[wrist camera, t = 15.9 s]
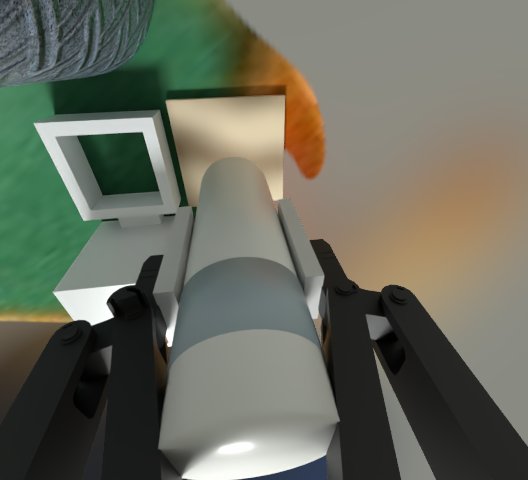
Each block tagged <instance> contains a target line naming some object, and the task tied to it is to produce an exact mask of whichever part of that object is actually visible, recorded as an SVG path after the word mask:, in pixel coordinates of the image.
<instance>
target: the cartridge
mask: <svg viewBox="0 0 528 480" xmlns="http://www.w3.org/2000/svg"><path fill="white" fill-rule="evenodd" d="M166 379H167V385H166V391H165V396H164V402H163V408H162V414H161V422H160V436H159V445H158V449H160V450H161V452H162V453H163V454H164V455H165V456H166V458H167V459H168V460H169V461H170V463H171V464H172V465H173V466H174V468H175V469H176V470H177V471H178V473H179V474H180V475H181V476H182V478H186V479H194V480H232V479H243V478H251V477H257V476H263V475H268V474H273V473H277V472H281V471H285V470H288V469H292V468H295V467H298V466H301V465H304V464H307V463H309V462H312V461H314V460H316V459H318V458H320V457H322V456H324V455H326V452H327V450H328V447H329V445H330V442H331V439H332V437H333V434H334V432H335V429H336V426H337V424H338V422H339V421H340V419H339V416H338V412H337V407H336V401H335V396H334V391H333V387H332V383H331V380H330V377H329V374H328V371H327V368H326V364H325V357H324V353H323V350H322V347H321V344H320V341H319V338H318V335H317V332H316V328H315V325H314V322H313V319H312V316H311V313H310V310H309V307H308V304H307V301H306V298H305V295H304V292H303V288H302V286H301V283H300V281H299V279H298V277H297V274H296V271H295V267H294V264H293V261H292V258H291V255H290V252H289V249H288V246H287V242H286V239H285V236H284V233H283V230H282V227H281V224H280V221H279V217H278V214H277V211H276V208H275V205H274V202H273V199H272V196H271V192H270V189H269V186H268V183H267V180H266V177H265V175H264V173H263V171H262V170H261V169H260V168H259V167H258V166H257V165H256V164H255V163H253V162H252V161H250V160H248V159H245V158H241V157H227V158H223V159H220V160H218V161H216V162H215V163H213V164H212V165H211V166H210V167H209V168H208V169H207V170H206V172H205V173H204V175H203V178H202V182H201V187H200V193H199V199H198V205H197V211H196V216H195V222H194V228H193V234H192V240H191V245H190V251H189V257H188V263H187V269H186V275H185V280H184V286H183V290H182V292H181V296H180V302H179V307H178V313H177V318H176V324H175V330H174V335H173V341H172V347H171V352H170V358H169V364H168V369H167V375H166Z"/></svg>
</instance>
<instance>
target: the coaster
mask: <svg viewBox="0 0 528 480" xmlns="http://www.w3.org/2000/svg"><path fill="white" fill-rule="evenodd" d="M166 106H167V110H168V115H169V119H170V124H171V128H172V133H173V137H174V142H175V146H176V151H177V155H178V160H179V164H180V169H181V173H182V178H183V182H184V187H185V191H186V196H187V200H188V205H189V206H191V207H197V205H198V199H199V193H200V187H201V182H202V178H203V175H204V173H205V172H206V170H207V169H208V168H209V167H210V166H211V165H212V164H213V163H215V162H216V161H218V160H220V159H223V158H227V157H241V158H245V159H248V160H250V161H252V162H253V163H255V164H256V165H257V166H258V167H259V168H260V169H261V170H262V171H263V173H264V175H265V177H266V180H267V183H268V186H269V189H270V192H271V196H272V199H273V200H278V199H283V162H284V161H283V160H284V121H285V95H284V94H282V95H259V96H236V97H213V98H190V99H168V100H166Z"/></svg>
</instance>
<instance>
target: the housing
mask: <svg viewBox="0 0 528 480" xmlns="http://www.w3.org/2000/svg"><path fill="white" fill-rule="evenodd" d="M34 125H35V127H36V129H37V131H38V133H39V135H40V137H41V139H42V141H43V143H44V145H45V146H46V148H47V150H48V152H49V154H50V156H51V158H52V160H53V162H54V164H55V166H56V168H57V170H58V172H59V173H60V175H61V177H62V179H63V181H64V183H65V185H66V187H67V189H68V191H69V193H70V195H71V197H72V199H73V200H74V202H75V204H76V206H77V208H78V210H79V212H80V214H81V216H82V218H83V220H84V221H86V220H99V219H111V218H118V220H116V221H104V222H101V223H100V225H99V226H98V228H97V229H96V231H95V232H94V233H93V235H92V236H91V238H90V239H89V241H88V242H87V243H86V245H85V246H84V248H83V249H82V251H81V252H80V254H79V255H78V256H77V258H76V259H75V261H74V262H73V264H72V265H71V266H70V268H69V269H68V271H67V272H66V274H65V275H64V276H63V278H62V279H61V281H60V282H59V284H58V285H57V287H56V288H55V289H54V291H53V293H54V294H55V296H56V297H57V298H58V300H59V301H60V302H61V304H62V305H63V306H64V308H65V309H66V310H67V312H68V313H69V314H70V316H71V317H72V318H73V320H74V321H76V320H86V321H88V322H89V323H90V324H91V325H95V324H98V323H100V322H103V321H106V320H108V319H111V318H113V317H114V316H113V315H112V313H111V311H110V310H109V308H108V306H107V304H106V303H107V300H108V298H109V297H110V296H111V294H112V293H114V292H115V291H117V290H118V289H120V288H122V287H125V286H129V285H135V284H136V281H137V279H138V276H139V273H140V272H141V268H142V265H143V263H144V262H145V261H146V260H147V259H148V258H149V257H150V256H152V255H163V254H164V253H165V249H166V246H167V243H168V239H169V236H170V232H171V229H172V226H173V222H174V219H175V216H165V217H164V215H163V214H173V213H176V212H177V208H178V207H179V204H180V201H181V196H180V192H179V188H178V184H177V180H176V175H175V171H174V167H173V163H172V159H171V154H170V150H169V146H168V142H167V138H166V133H165V129H164V125H163V121H162V117H161V112H160V110H144V111H123V112H102V113H80V114H59V115H53V116H50V117H48V118H45V119H43V120H40V121H38V122H35V123H34ZM131 132H143V135H144V138H145V142H146V145H147V149H148V152H149V156H150V159H151V163H152V166H153V170H154V173H155V177H156V180H157V184H158V187H159V190H160V191H158V192H144V193H130V194H116V195H102V192H101V190H100V188H99V185H98V183H97V181H96V179H95V176H94V174H93V172H92V169H91V167H90V165H89V163H88V160H87V158H86V156H85V153H84V151H83V149H82V147H81V144H80V142H79V140H78V137H77V135H94V134H112V133H131ZM165 340H166V342H167V345H168V347H169V346H172V341H173V336H170V335H169V332H168V330H167V332H166V337H165Z"/></svg>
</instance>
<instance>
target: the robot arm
mask: <svg viewBox="0 0 528 480" xmlns="http://www.w3.org/2000/svg"><path fill="white" fill-rule="evenodd" d="M278 217H279V221H280V224H281V227H282V230H283V233H284V236H285V239H286V242H287V246H288V249H289V252H290V255H291V258H292V261H293V264H294V267H295V271H296V274H297V277H298V279H299V281H300V283H301V286H302V288H303V292H304V295H305V298H306V301H307V304H308V307H309V310H310V313H311V316H312V319H317V318H318V313H320V316H321V318H322V323H321V328H320V334H319V336H320V337H321V343H322V350H323V353H324V357H325V364H326V368H327V371H328V374H329V377H330V380H331V383H332V387H333V391H334V396H335V401H336V407H337V412H338V416H339V419H340V421H339V422H338V424H337V426H336V429H335V432H334V434H333V437H332V439H331V442H330V445H329V447H328V450H327V452H326V455H327V477H328V480H401V478H400V472H399V468H398V464H397V458H396V454H395V449H394V445H393V440H392V435H391V430H390V426H389V421H388V417H387V412H386V407H385V402H384V398H383V393H382V389H381V384H380V379H379V374H378V370H377V365H376V360H375V356H374V351H373V348H374V350H375V352H376V355H377V357H378V359H379V361H380V363H381V365H382V367H383V369H384V371H385V373H386V375H387V378H388V380H389V382H390V384H391V386H392V388H393V390H394V392H395V394H396V397H397V398H398V401H399V403H400V405H401V407H402V409H403V411H404V413H405V415H406V417H407V420H408V422H409V424H410V426H411V428H412V430H413V432H414V434H415V436H416V438H417V441H418V443H419V445H420V447H421V449H422V451H423V453H424V455H425V457H426V459H427V461H428V464H429V465H430V468H431V470H432V472H433V474H434V476H435V478H436V480H528V446H527V445H526V444H525V442H524V441H523V440H522V439H521V437H520V436H519V434H518V433H517V432H516V430H515V429H514V428H513V426H512V425H511V424H510V422H509V421H508V420H507V418H506V417H505V416H504V415H503V413H502V412H501V410H500V409H499V408H498V406H497V405H496V404H495V402H494V401H493V400H492V398H491V397H490V396H489V394H488V393H487V391H486V390H485V389H484V387H483V386H482V385H481V383H480V382H479V381H478V380H477V378H476V377H475V375H474V374H473V373H472V371H471V370H470V369H469V367H468V366H467V365H466V364H465V362H464V361H463V359H462V358H461V357H460V355H459V354H458V353H457V351H456V350H455V349H454V347H453V346H452V345H451V343H450V342H449V341H448V339H447V338H446V337H445V335H444V334H443V333H442V331H441V330H440V329H439V327H438V326H437V325H436V323H435V322H434V321H433V319H432V318H431V317H430V315H429V314H428V312H427V311H426V310H425V308H424V307H423V306H422V305H421V303H420V302H419V301H418V299H417V298H416V296H415V295H413V293H412V292H411V291H410V290H408V289H406V288H404V287H401V286H398V285H389V286H385V287H384V288H383V289H382V291H381V292H375V291H368V290H364V289H361V288H359V286H358V285H357V284H356V283H355V282H353V281H351V280H349V279H348V278H347V277H346V275H345V273H344V271H343V269H342V267H341V265H340V263H339V262H338V260H337V258H336V256H335V254H334V253H333V250H332V249H331V247H330V245H329V244H328V243H327V242H325V241H324V240H323V239H318V240H309V239H308V237H307V234H306V232H305V230H304V228H303V225H302V223H301V221H300V219H299V216H298V214H297V212H296V209H295V207H294V205H293V203H292V201H291V198H290V199H278ZM194 222H195V221H194V217H193V212H192V207H191V206H187V207H178V208H177V212H176V215H175V219H174V222H173V226H172V229H171V232H170V236H169V239H168V243H167V246H166V249H165V253H164V254H163V255H152V256H150V257H149V258H148V259H147V260H146V261H145V262H144V263H143V265H142V268H141V272H140V273H139V276H138V279H137V281H136V284H135V285H129V286H125V287H122V288H120V289H118V290H117V291H115V292H114V293H112V294H111V296H110V297H109V298H108V300H107V303H106V304H107V306H108V308H109V310H110V311H111V313H112V315H113V316H114V317H113V318H111V319H108V320H106V321H103V322H100V323H98V324H95V325H91V324H90V323H89V322H88V321H86V320H76V321H73V322H70V323H68V324H66V325H64V326H62V327H61V328H60V329H59V330H57V331H56V332H55V333H54V335H53V336H52V337H51V339H50V340H49V342H48V344H47V345H46V347H45V349H44V350H43V352H42V354H41V356H40V357H39V359H38V361H37V363H36V364H35V366H34V368H33V370H32V371H31V373H30V375H29V376H28V378H27V380H26V382H25V383H24V385H23V387H22V388H21V390H20V392H19V394H18V395H17V397H16V399H15V401H14V402H13V404H12V406H11V407H10V409H9V411H8V413H7V414H6V416H5V418H4V419H3V421H2V423H1V425H0V480H82V477H83V474H84V471H85V468H86V465H87V461H88V458H89V455H90V452H91V449H92V445H93V442H94V439H95V436H96V433H97V430H98V427H99V424H100V421H101V417H102V414H103V411H104V408H105V405H106V402H107V399H108V405H107V417H106V429H105V441H104V454H103V466H102V478H101V480H182V476H181V475H180V474H179V473H178V471H177V470H176V469H175V468H174V466H173V465H172V464H171V463H170V461H169V460H168V459H167V458H166V456H165V455H164V454H163V453H162V452H161V450H160V449H158V445H159V436H160V422H161V414H162V408H163V402H164V396H165V391H166V385H167V379H166V375H167V369H168V364H169V354H168V345H167V342H166V340H165V337H166V332H167V330H168V332H169V335H170V336H173V335H174V330H175V324H176V318H177V313H178V307H179V302H180V296H181V292H182V290H183V286H184V280H185V275H186V269H187V263H188V257H189V251H190V245H191V240H192V234H193V228H194Z"/></svg>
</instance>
